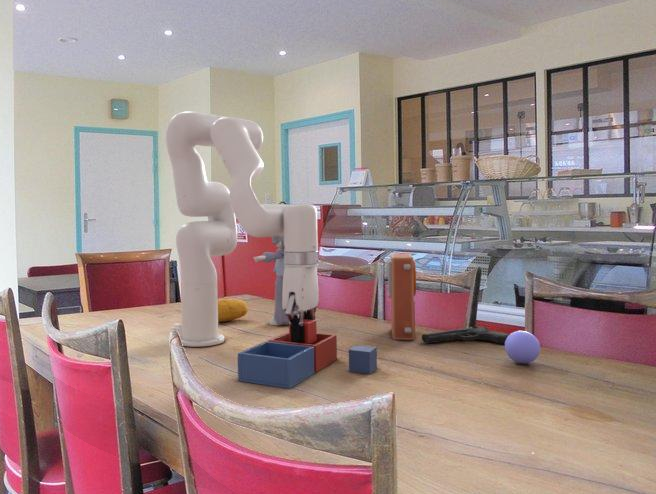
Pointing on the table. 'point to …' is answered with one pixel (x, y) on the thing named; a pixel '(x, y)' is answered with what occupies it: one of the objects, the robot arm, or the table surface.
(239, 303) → the potato
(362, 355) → the blue block
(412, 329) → the control panel
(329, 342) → the red bin
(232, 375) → the table surface
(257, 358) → the blue bin
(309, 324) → the red block
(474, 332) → the handgun
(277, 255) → the toy
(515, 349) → the sphere
